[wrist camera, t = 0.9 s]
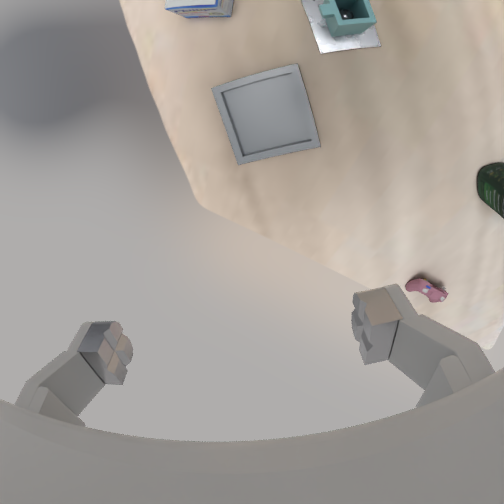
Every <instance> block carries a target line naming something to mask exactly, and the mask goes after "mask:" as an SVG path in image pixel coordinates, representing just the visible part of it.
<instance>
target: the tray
mask: <svg viewBox="0 0 504 504" xmlns="http://www.w3.org/2000/svg"><path fill="white" fill-rule="evenodd" d="M211 89H212V92H213V95H214V98H215V100H216V103H217V106H218V109H219V112H220V114H221V117H222V120H223V123H224V126H225V129H226V131H227V134H228V137H229V140H230V143H231V146H232V149H233V151H234V154H235V157H236V160H237V163H238V165H241V164H244V163H248V162H252V161H257V160H261V159H265V158H269V157H274V156H278V155H283V154H287V153H292V152H297V151H302V150H307V149H312V148H317V147H321V146H320V142H319V138H318V134H317V130H316V126H315V122H314V118H313V114H312V111H311V107H310V104H309V100H308V97H307V93H306V90H305V86H304V83H303V80H302V77H301V73H300V70H299V67H298V64H293V65H288V66H284V67H280V68H276V69H272V70H268V71H264V72H261V73H257V74H254V75H250V76H247V77H243V78H240V79H237V80H234V81H231V82H228V83H225V84H222V85H219V86H216V87H213V88H211Z"/></svg>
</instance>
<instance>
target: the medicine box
mask: <svg viewBox="0 0 504 504" xmlns="http://www.w3.org/2000/svg"><path fill="white" fill-rule="evenodd" d="M233 1H234V0H166V3H165V9H166V10H168V11H171V12H174V13H176V14H178V15H181V16H183V17H185V18H195V17H231V13H232V7H233Z"/></svg>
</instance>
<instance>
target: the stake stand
mask: <svg viewBox="0 0 504 504" xmlns="http://www.w3.org/2000/svg"><path fill="white" fill-rule="evenodd" d="M301 2H302V4H303V7H304V9H305V12H306V15H307V17H308V20H309V22H310V25H311V28H312V31H313V33H314V36H315V39H316V42H317V45H318V48H319V51H320V54H323V53H329V52H335V51H342V50H350V49H359V48H369V47H380V46H381V44H380V41H379V38H378V35H377V32H376V29H375V26H374V25H372V26H371V27H370V28H368V29H367V30H366V31H364V32H363V33H361V34H351V35H343V36H335V37H331V34H330V31H329V28H328V26H327V23H326V20H325V18H324V19H322V16H321V14H320V11H319V9H318V8H319V5H322V4H323V2H324V0H301ZM339 13H340V15H341V18H342V20H347V19H353V18H354V15H353V13H352V12H351V11H350V10H347V9H342V10H340V11H339Z"/></svg>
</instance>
